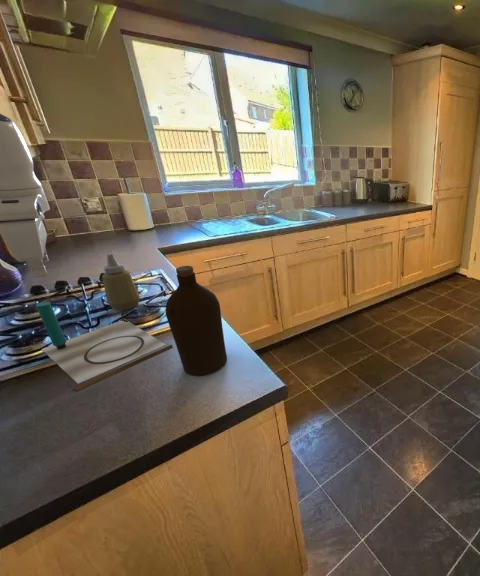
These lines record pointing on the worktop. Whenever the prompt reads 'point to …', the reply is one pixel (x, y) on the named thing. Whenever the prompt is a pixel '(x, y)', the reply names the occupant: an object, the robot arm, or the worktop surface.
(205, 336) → the olive oil
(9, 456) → the worktop surface
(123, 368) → the drawing board
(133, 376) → the worktop surface
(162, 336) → the worktop surface
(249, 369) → the worktop surface
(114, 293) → the squeeze bottle
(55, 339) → the marker
